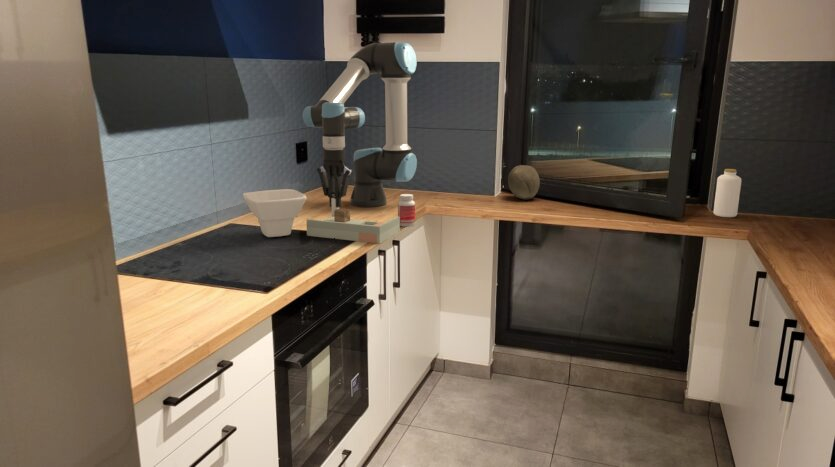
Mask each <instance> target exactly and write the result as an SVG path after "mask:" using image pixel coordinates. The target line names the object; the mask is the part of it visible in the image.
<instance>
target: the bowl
mask: <svg viewBox="0 0 835 467" xmlns="http://www.w3.org/2000/svg"><path fill="white" fill-rule="evenodd" d="M242 198H243V199H244V201H245V203H246V204H247V206H248V208H249V210H250V211H251V213H252V215H253V216H254V217H255V218H256V219H257V221H258V223H259V227H260V230H261V232H262V233H261V234H263V235H264V236H265V237H267V238H274V237H283V236H285V237H286V236H289V235H291V233H292V228H293V225H294V220H295V218H297V217H298V216H299V214H300V213H301V211H302V209H303V207H304V205H305V202H306V201H307V195H306V194H304V193H302V192H300V191H299V190H296V189H292V188H291V189H290V188H287V189H286V188H285V189H284V188H282V189H268V190H267V189H266V190H260V191H259V190H258V191H250V192H249V191H248V192H243V194H242Z"/></svg>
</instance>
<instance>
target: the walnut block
mask: <svg viewBox="0 0 835 467" xmlns="http://www.w3.org/2000/svg"><path fill="white" fill-rule="evenodd" d="M333 218H334V221H335V222H343V223H345V222H348V221H350V219H351V209H350V208H340V207H339V209H337V210H334V217H333Z"/></svg>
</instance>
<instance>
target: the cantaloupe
mask: <svg viewBox="0 0 835 467" xmlns="http://www.w3.org/2000/svg"><path fill="white" fill-rule="evenodd" d="M540 184H541V180H540V176H539V173H538V171H537V170H536V168H534V166H532V165H523V164H520V165H516V166H515V167H513V168H512V169H511V171H510V172H509V174H508V179H507V186H508V188H509V191H511V193H512V194H513V195H514V196H515V197H517V198H519V199H520V200H523V201H529V200H530V199H532V198H534V197H535V196H536V194H537V193H538V191H539V189H540Z"/></svg>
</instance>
